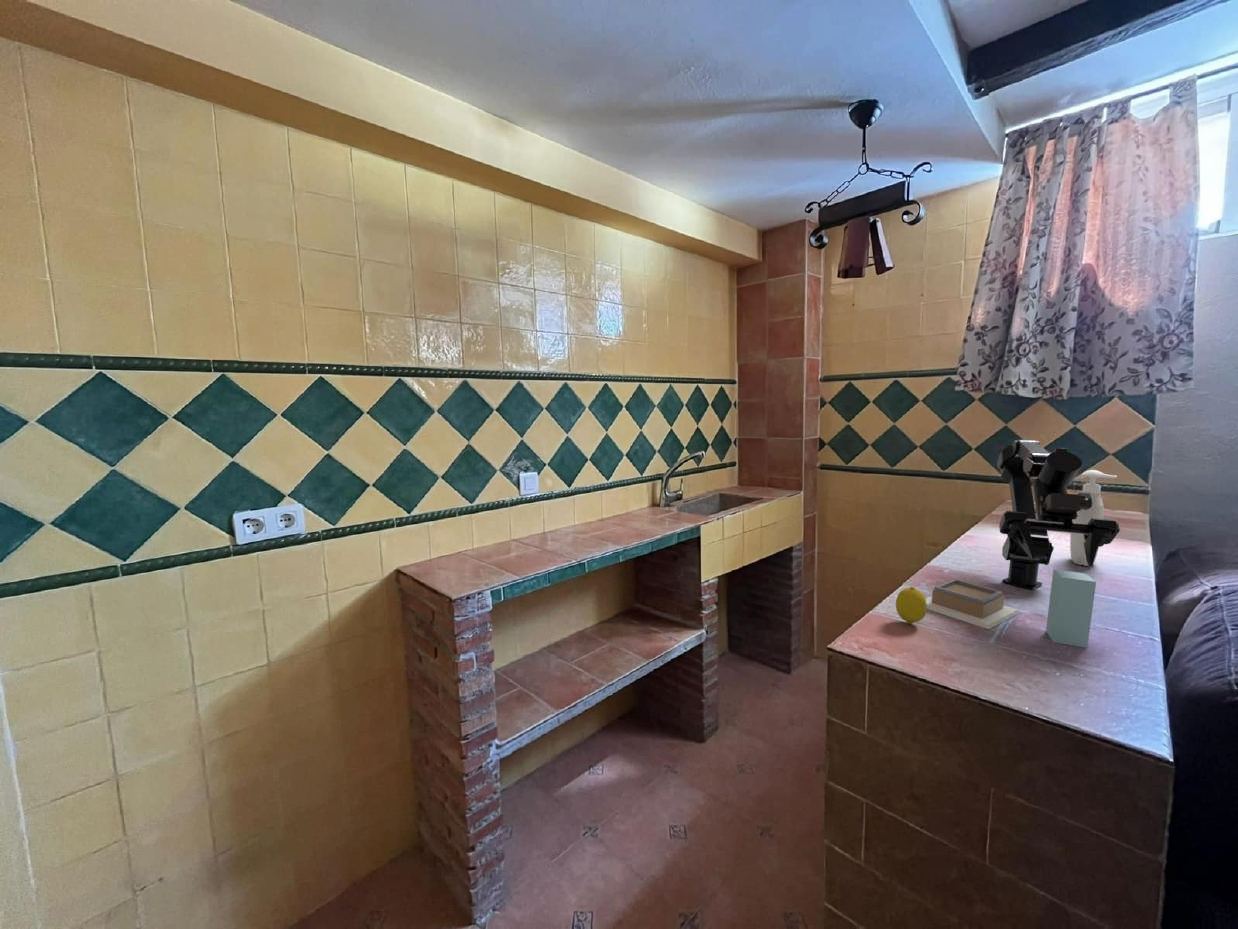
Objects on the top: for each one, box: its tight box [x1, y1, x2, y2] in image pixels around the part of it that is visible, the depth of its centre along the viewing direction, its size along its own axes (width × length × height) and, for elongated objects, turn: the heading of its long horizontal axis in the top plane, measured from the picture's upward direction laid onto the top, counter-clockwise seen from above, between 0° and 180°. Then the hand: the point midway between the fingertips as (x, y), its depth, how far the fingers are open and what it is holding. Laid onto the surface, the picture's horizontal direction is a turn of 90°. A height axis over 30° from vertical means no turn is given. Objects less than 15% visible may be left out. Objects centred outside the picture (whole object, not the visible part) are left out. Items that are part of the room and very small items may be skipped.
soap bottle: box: [1069, 469, 1118, 567], centre depth 143 cm, size 14×8×27 cm, turn 139°
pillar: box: [1045, 569, 1097, 649], centre depth 97 cm, size 5×5×13 cm
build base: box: [925, 578, 1018, 630], centre depth 111 cm, size 14×14×5 cm
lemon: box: [895, 586, 928, 625], centre depth 104 cm, size 6×6×8 cm
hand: (1061, 561), depth 103 cm, fingers open, 9 cm apart
